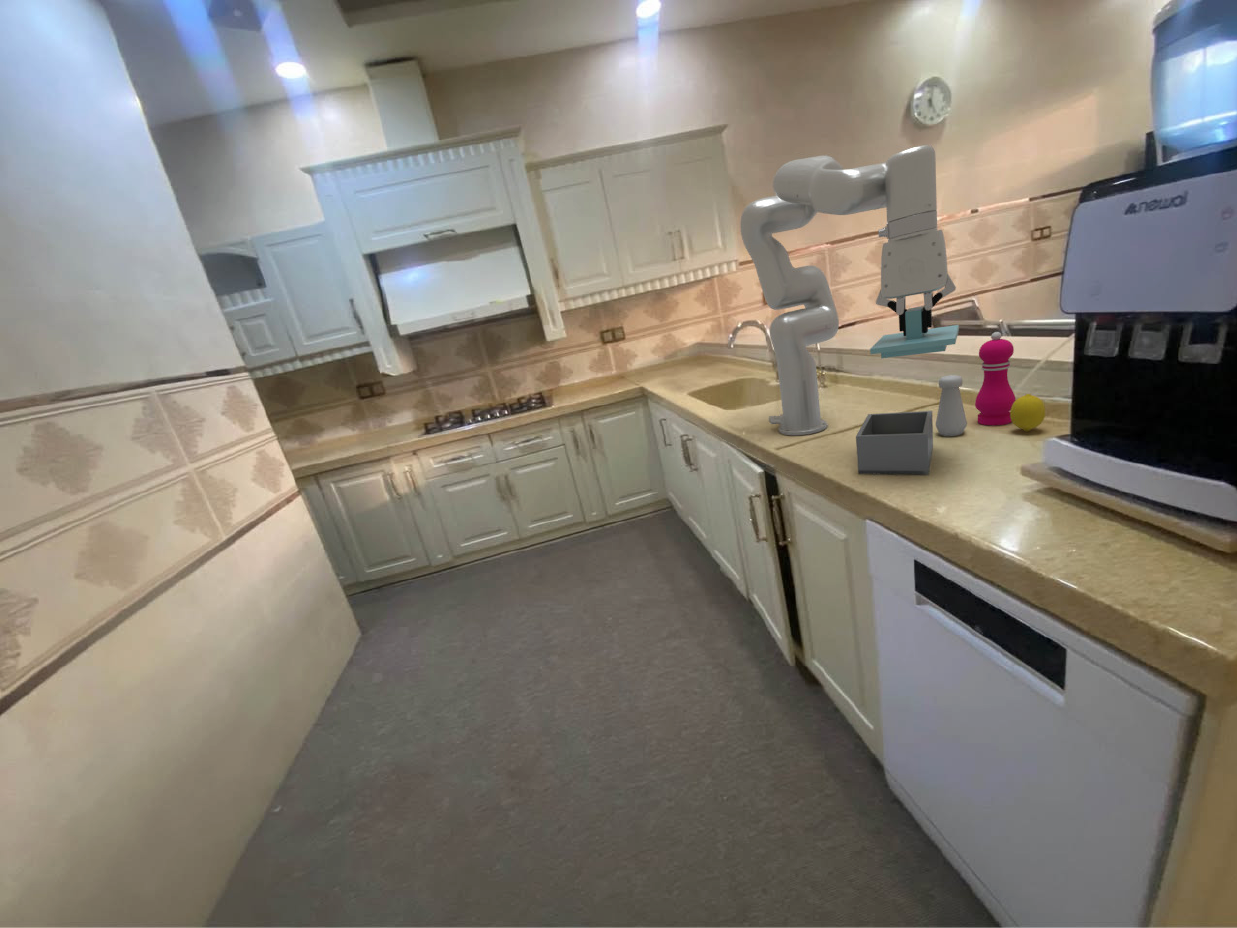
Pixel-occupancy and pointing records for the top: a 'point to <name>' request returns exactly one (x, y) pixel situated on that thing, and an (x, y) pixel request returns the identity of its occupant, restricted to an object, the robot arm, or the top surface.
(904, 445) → the tub
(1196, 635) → the top surface
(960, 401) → the salt shaker
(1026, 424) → the lemon
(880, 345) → the lid
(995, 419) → the pepper mill
